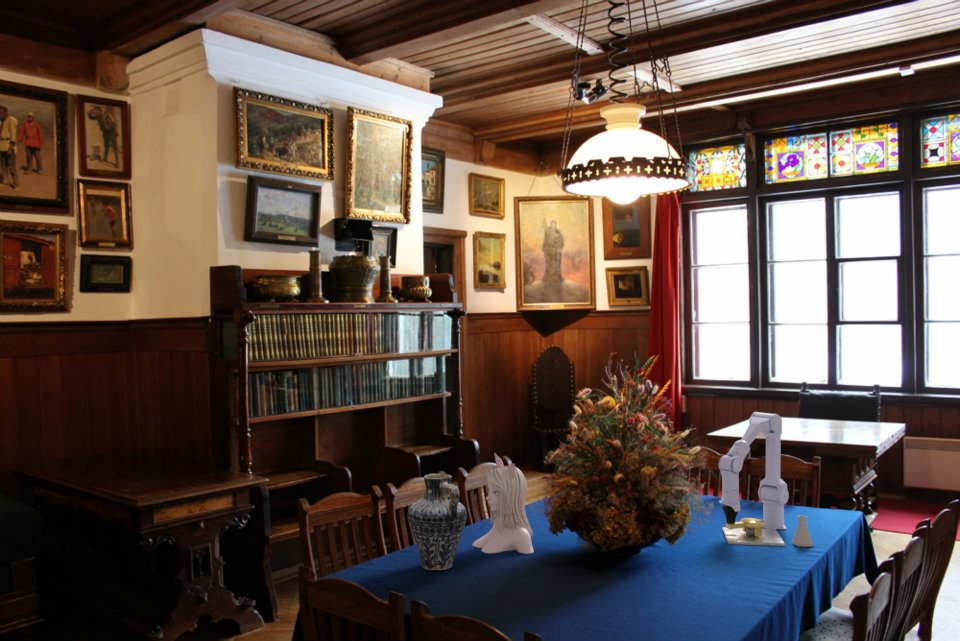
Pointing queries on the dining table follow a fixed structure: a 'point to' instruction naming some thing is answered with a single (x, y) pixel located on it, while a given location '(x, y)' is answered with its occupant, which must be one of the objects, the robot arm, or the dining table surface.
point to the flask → (802, 533)
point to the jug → (437, 522)
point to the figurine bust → (506, 511)
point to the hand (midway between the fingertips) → (730, 526)
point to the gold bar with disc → (748, 525)
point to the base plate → (753, 537)
